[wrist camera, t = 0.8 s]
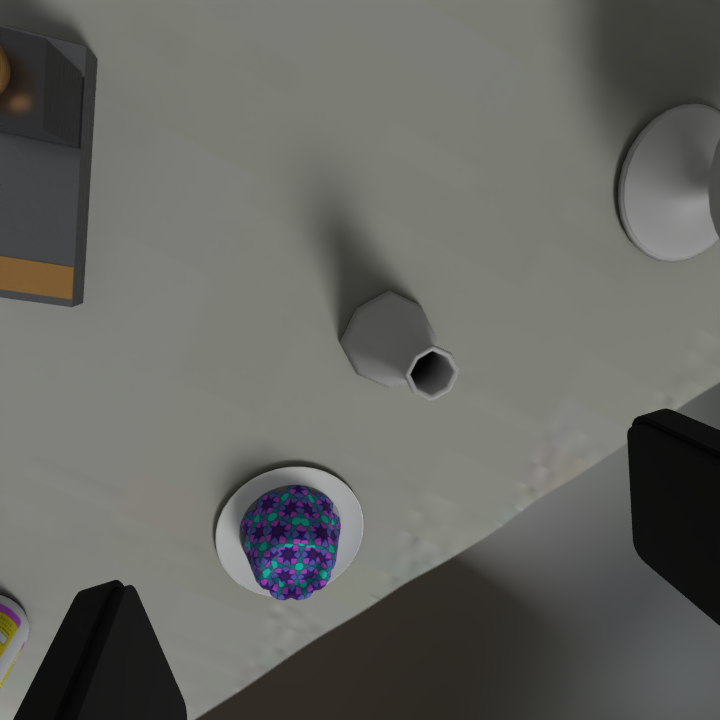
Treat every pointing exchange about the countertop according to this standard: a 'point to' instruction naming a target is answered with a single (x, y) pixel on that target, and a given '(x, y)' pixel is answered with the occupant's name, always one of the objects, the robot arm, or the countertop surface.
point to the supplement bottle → (11, 634)
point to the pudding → (289, 533)
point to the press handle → (38, 89)
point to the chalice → (673, 184)
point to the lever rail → (47, 202)
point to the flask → (398, 347)
